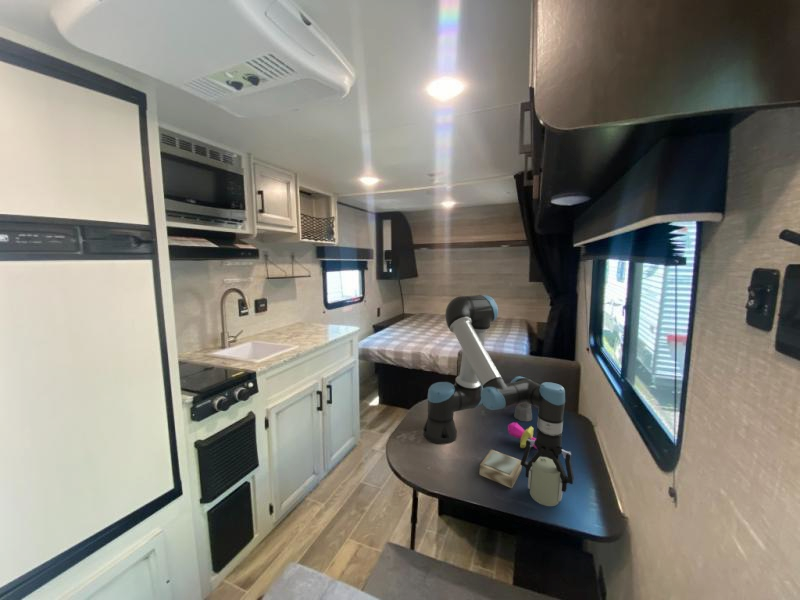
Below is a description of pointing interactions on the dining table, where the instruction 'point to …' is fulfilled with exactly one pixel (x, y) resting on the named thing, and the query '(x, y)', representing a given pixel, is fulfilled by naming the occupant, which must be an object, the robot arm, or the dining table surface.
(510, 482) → the pedestal
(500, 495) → the dining table surface
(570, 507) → the dining table surface
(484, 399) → the robot arm
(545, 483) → the can
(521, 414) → the coffeepot
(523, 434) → the toy
